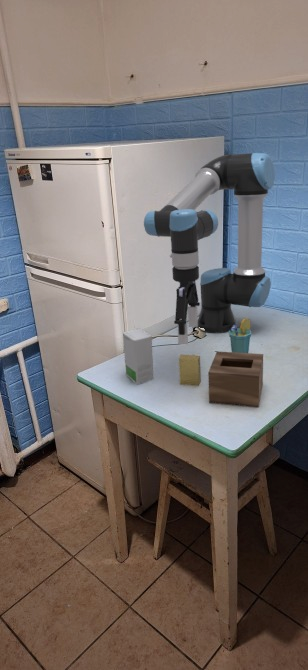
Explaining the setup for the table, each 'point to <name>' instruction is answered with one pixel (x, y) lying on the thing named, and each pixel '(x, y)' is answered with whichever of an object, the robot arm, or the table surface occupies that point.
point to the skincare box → (138, 355)
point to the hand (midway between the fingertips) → (188, 334)
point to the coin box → (236, 379)
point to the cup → (240, 337)
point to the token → (189, 370)
